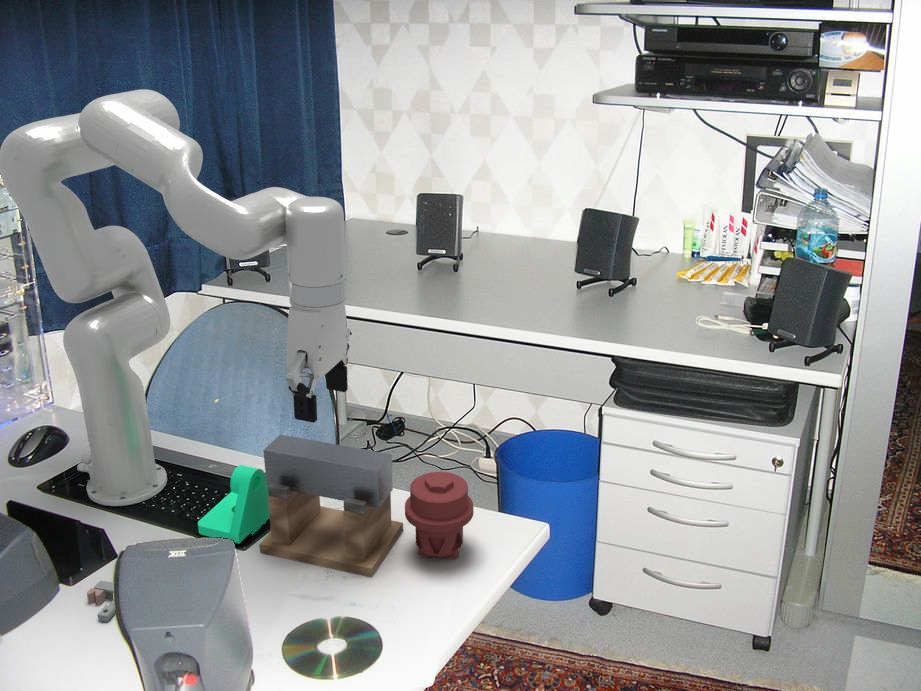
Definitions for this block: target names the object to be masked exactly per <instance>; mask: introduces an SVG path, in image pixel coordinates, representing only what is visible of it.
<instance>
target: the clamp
mask: <svg viewBox="0 0 921 691" xmlns="http://www.w3.org/2000/svg"><path fill="white" fill-rule="evenodd" d="M114 583H115V582H111V581H106V580H100V581H98V582H97V583H96V584H95V585H94V586H93V588H92V587H90V589H89V590H87V591H86V597H87V602H88V605H91V604H94V603H96V604H97V606H98V607H99V606H101V605H102V604H103V603H104V602H105V601H106V600H108V601H109V600H110V601H111V602H110V603H109V604H108V605H105V606H104V607H103V608H102V609H100V611H99V612H98V613H97V614H96V615H97V619H98V620H99V621H100V622H109V621H110V620H111V618H112V617H113V616H114V615H115V614H116V612H115V607H114V600H113V593H114Z"/></svg>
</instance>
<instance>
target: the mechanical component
mask: <svg viewBox="0 0 921 691" xmlns="http://www.w3.org/2000/svg"><path fill="white" fill-rule="evenodd" d="M409 493H410V494H409V495H410V496H409V497H407V499H406V501H405V504H404V516H405V518H406V520H407V522H408V523H410V524H411V525H412V526H413V527H414V528H415V545H416V548H417V554H418V556H419V557H420V558H431V557H432V558H434V557H436V558H437V557H439V558H446V559H449V560H457V559H458V558H459V556H460V549H461V548H462V547H463V543H464V527H465V526H466V525H468V524H469V523H470V522H471V520H472V519H473V516H474V502H473V500H472V498H471V497H470V496H469V485H468V482H467V481H466V480H465V478H463V477H462V476H460V475H458V474H456V473H452V472H447V471H431V472H427V473H424V474H421V475H418V476H417V477H416V478H414V479H413V480H412V481H411V483H410V487H409Z"/></svg>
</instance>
